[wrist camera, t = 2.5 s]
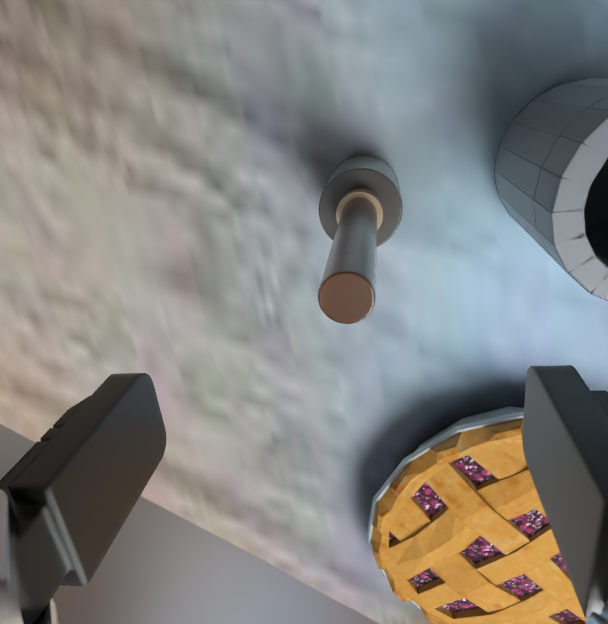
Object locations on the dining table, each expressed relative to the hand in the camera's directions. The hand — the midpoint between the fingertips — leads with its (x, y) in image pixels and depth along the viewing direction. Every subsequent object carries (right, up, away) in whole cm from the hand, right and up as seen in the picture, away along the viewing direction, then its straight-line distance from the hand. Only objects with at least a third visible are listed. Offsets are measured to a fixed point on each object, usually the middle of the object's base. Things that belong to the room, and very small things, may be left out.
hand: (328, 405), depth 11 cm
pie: (+16, -13, +29) cm, 35 cm away
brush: (+3, +9, +20) cm, 23 cm away
